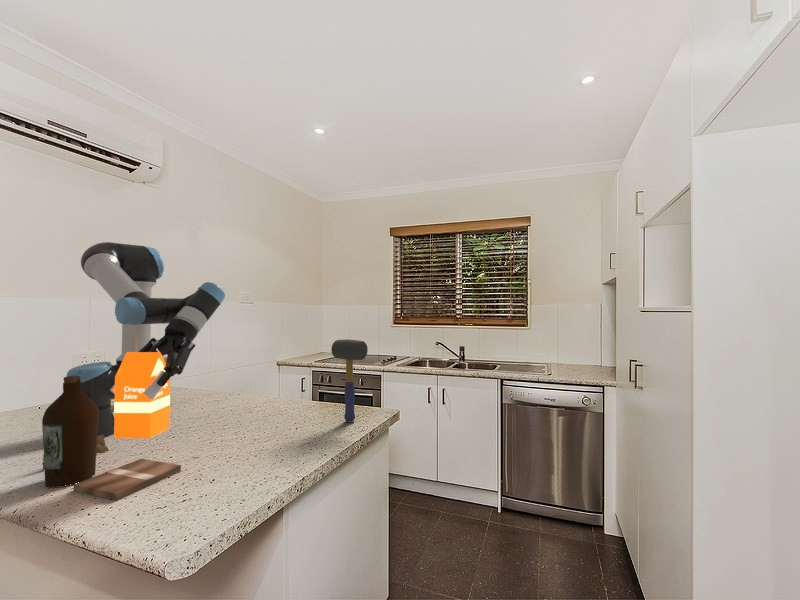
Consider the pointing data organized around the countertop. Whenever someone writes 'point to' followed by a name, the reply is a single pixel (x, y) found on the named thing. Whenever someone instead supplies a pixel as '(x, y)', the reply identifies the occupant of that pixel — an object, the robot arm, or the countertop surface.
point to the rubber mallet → (349, 369)
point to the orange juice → (140, 397)
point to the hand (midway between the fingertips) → (131, 395)
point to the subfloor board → (127, 479)
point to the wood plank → (100, 446)
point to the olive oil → (70, 436)
